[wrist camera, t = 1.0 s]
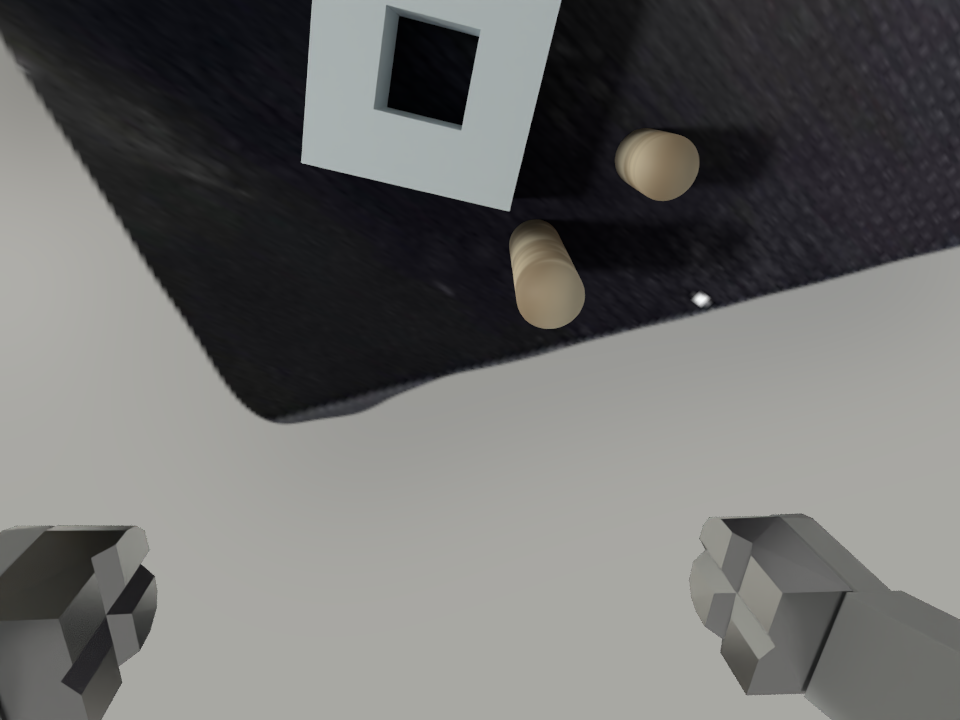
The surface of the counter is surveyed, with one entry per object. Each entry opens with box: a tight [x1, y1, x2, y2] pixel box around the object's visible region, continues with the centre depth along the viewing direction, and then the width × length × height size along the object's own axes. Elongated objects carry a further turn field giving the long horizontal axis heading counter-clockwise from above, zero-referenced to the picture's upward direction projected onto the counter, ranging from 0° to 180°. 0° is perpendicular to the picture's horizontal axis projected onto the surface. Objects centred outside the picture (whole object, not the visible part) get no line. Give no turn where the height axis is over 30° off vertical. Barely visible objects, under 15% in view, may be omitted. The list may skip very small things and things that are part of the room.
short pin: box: [615, 128, 699, 201], centre depth 36 cm, size 4×4×6 cm
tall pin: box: [509, 219, 585, 329], centre depth 37 cm, size 4×4×12 cm
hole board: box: [301, 0, 561, 211], centre depth 34 cm, size 14×14×5 cm
